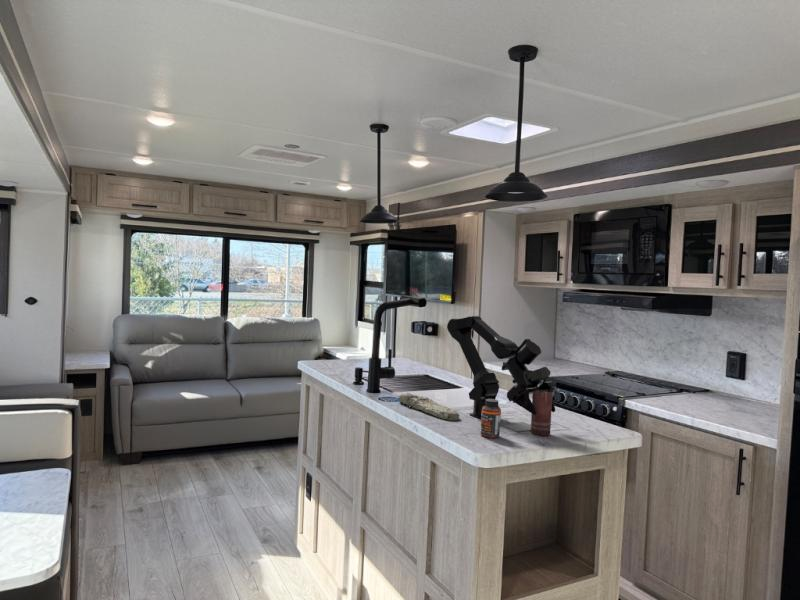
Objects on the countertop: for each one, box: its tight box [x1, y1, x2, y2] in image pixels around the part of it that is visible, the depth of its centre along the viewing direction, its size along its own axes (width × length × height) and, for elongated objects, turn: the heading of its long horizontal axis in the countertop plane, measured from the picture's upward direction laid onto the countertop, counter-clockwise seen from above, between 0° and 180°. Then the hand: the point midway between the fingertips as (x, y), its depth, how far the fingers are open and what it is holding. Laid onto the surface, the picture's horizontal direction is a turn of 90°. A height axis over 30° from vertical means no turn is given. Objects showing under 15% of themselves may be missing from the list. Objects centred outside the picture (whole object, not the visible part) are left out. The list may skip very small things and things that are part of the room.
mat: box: [500, 421, 531, 433], centre depth 191 cm, size 10×10×1 cm
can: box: [530, 390, 553, 437], centre depth 183 cm, size 6×6×14 cm
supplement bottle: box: [480, 399, 502, 439], centre depth 178 cm, size 6×6×11 cm
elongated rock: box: [397, 392, 460, 421], centre depth 211 cm, size 35×5×10 cm
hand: (545, 412), depth 182 cm, fingers open, 9 cm apart
